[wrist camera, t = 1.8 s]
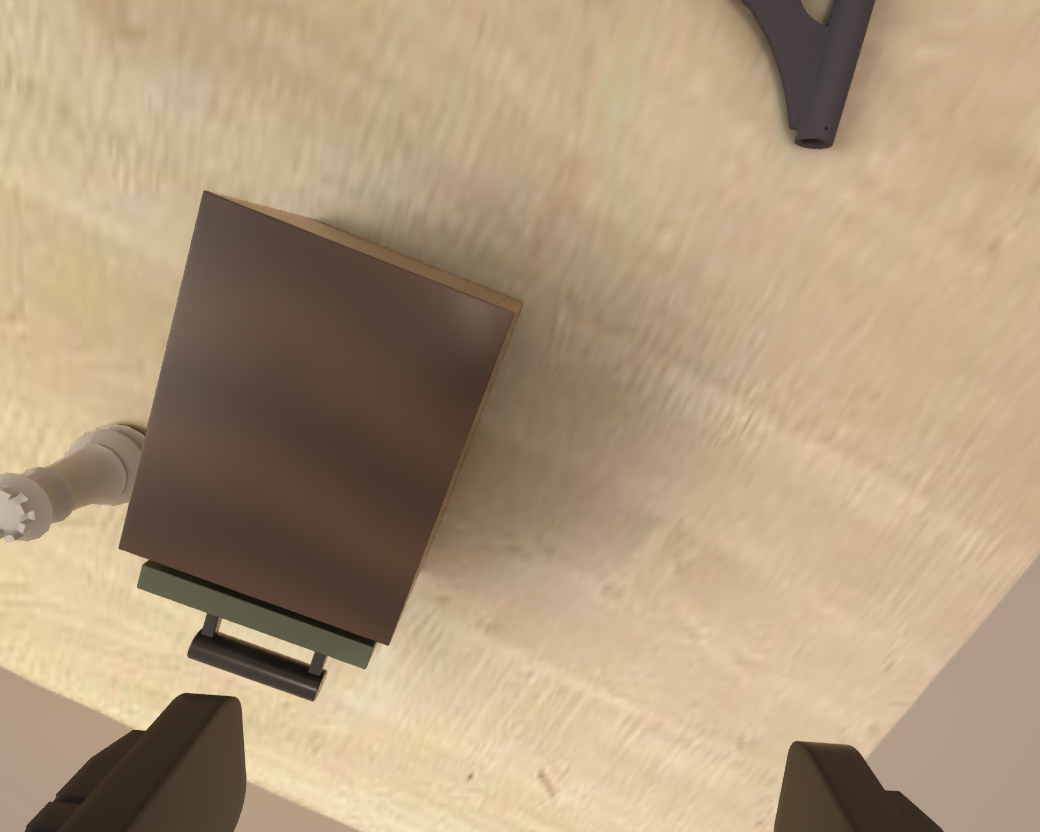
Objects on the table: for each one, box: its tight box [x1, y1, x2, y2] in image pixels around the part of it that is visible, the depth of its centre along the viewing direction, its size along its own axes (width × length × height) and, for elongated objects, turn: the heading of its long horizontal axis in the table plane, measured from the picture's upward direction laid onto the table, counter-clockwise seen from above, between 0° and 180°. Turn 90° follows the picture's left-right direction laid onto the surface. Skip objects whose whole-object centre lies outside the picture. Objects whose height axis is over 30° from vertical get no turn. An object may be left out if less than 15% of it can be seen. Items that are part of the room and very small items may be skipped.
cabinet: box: [119, 191, 523, 645], centre depth 27 cm, size 15×12×10 cm
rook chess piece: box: [0, 424, 145, 543], centre depth 29 cm, size 4×4×8 cm
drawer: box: [137, 560, 378, 702], centre depth 28 cm, size 18×10×8 cm, turn 159°
